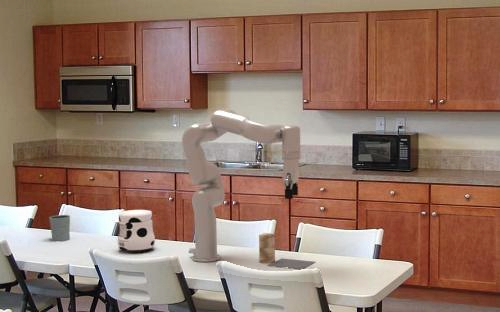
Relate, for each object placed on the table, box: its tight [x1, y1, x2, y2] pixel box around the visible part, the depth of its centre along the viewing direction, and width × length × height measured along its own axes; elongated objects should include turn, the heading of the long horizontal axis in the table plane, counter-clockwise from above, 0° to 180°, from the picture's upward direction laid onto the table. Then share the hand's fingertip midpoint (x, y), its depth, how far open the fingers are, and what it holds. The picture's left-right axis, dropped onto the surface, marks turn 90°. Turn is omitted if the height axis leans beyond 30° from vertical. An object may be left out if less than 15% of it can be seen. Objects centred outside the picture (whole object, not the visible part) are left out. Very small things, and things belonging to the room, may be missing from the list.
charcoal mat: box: [266, 258, 316, 270], centre depth 321 cm, size 16×14×1 cm
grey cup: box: [48, 214, 71, 242], centre depth 383 cm, size 10×10×12 cm
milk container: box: [117, 209, 156, 253], centre depth 354 cm, size 17×17×18 cm
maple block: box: [258, 232, 276, 264], centre depth 326 cm, size 5×5×12 cm
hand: (291, 196), depth 312 cm, fingers open, 9 cm apart
